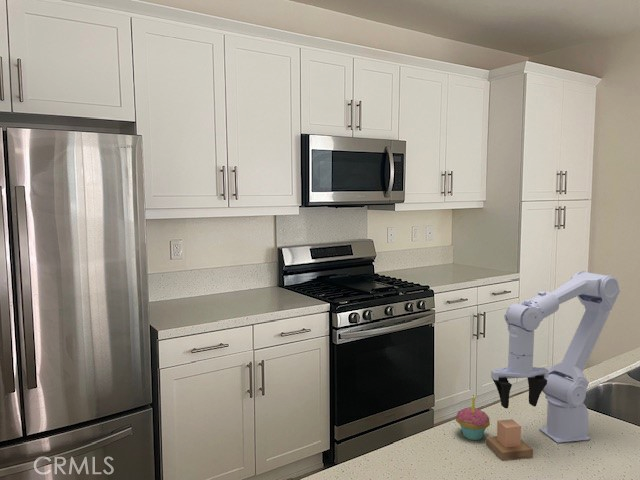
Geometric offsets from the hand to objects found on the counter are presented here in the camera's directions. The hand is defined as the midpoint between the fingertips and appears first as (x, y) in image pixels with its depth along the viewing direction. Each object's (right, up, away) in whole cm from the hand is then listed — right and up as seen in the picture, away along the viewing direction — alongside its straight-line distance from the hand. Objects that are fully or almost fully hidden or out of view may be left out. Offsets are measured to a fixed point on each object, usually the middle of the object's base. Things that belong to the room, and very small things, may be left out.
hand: (518, 405), depth 128 cm
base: (-3, -11, -2) cm, 11 cm away
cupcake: (-10, -10, +7) cm, 16 cm away
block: (-3, -9, -2) cm, 9 cm away
